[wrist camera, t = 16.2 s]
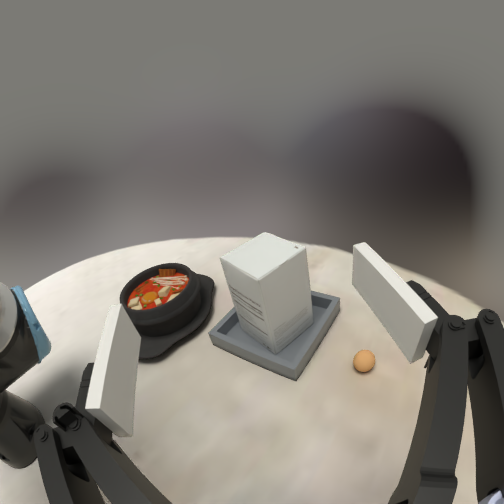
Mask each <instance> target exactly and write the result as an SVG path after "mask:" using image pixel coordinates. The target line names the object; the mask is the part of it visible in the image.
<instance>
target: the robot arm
mask: <svg viewBox="0 0 504 504" xmlns="http://www.w3.org/2000/svg"><path fill="white" fill-rule="evenodd" d="M352 285H353V286H354V287H355V289H356V290H357V291H358V292H359V294H360V295H361V296H362V298H363V299H364V300H365V302H366V303H367V304H368V306H369V307H370V308H371V310H372V311H373V312H374V314H375V315H376V316H377V318H378V319H379V320H380V322H381V323H382V325H383V326H384V327H385V329H386V330H387V331H388V333H389V334H390V336H391V337H392V338H393V340H394V341H395V343H396V344H397V345H398V347H399V348H400V350H401V351H402V353H403V354H404V355H405V357H406V358H407V360H408V361H409V363H410V364H411V363H413V362H415V361H417V360H419V359H421V358H423V355H424V353H425V350H427V352H428V353H429V354H430V355H429V357H428V359H427V362H426V364H425V366H424V368H426V367H427V371H426V377H425V384H424V390H423V395H422V401H421V406H420V410H419V415H418V420H417V424H416V428H415V432H414V436H413V440H412V443H411V447H410V450H409V454H408V457H407V460H406V464H405V467H404V470H403V473H402V476H401V478H400V481H399V484H398V486H397V488H396V490H395V491H394V493H393V494H392V496H391V498H390V500H389V503H388V504H452V502H453V499H454V496H455V492H456V489H457V483H458V482H457V478H456V476H455V468H456V464H457V459H458V455H459V450H460V444H461V438H462V432H463V425H464V418H465V409H466V398H467V384H468V389H469V395H470V402H471V409H472V417H473V426H474V437H475V453H476V492H477V500H478V504H504V328H503V325H502V323H501V321H500V318H499V316H498V315H497V314H496V313H495V312H494V311H492V310H490V309H483V310H481V311H480V312H479V314H478V316H477V318H474V319H468V320H464V319H463V318H461V317H460V316H457V315H449V314H448V313H447V312H446V311H445V310H444V309H443V308H442V306H441V305H440V304H439V303H438V302H437V301H436V300H435V299H434V298H433V297H431V295H430V294H429V293H428V292H427V291H426V290H425V289H424V288H423V287H422V286H421V285H420V284H418V283H416V282H414V281H412V280H411V281H409V282H405V281H404V280H403V279H402V278H401V277H400V276H399V275H398V274H397V273H396V272H395V271H394V270H393V269H392V268H391V267H390V266H389V265H388V264H387V263H386V262H385V261H384V260H383V259H382V258H381V257H380V256H379V255H378V254H376V252H375V251H374V250H372V249H371V248H370V247H369V246H368V245H367V244H366V243H365V242H364V243H360V244H357V245H353V274H352ZM140 342H141V337H140V335H139V333H138V332H137V330H136V328H135V326H134V325H133V323H132V321H131V320H130V318H129V316H128V314H127V313H126V311H125V309H124V307H123V305H122V304H117V305H113V306H110V307H109V311H108V314H107V317H106V321H105V324H104V328H103V331H102V335H101V339H100V343H99V346H98V350H97V354H96V359H95V363H88V365H87V367H86V368H85V370H84V371H83V375H82V382H81V384H80V389H79V393H78V398H77V403H76V408H75V407H74V406H72V405H71V404H70V403H62V404H60V405H59V406H58V407H57V408H56V409H55V411H54V413H53V423H54V424H56V425H57V426H58V427H57V428H54V429H53V428H51V427H50V426H49V425H47V424H45V423H44V419H43V417H42V415H41V413H40V412H39V410H38V409H37V408H35V407H34V406H33V405H32V404H31V403H30V402H28V401H26V400H24V399H22V398H20V397H18V396H16V395H14V394H12V393H10V392H8V391H7V390H6V388H8V387H9V386H10V385H11V384H12V383H14V382H15V381H16V380H17V379H19V378H20V377H21V376H22V375H23V374H25V373H26V372H27V371H28V370H30V369H31V368H32V367H33V366H35V365H36V364H37V363H38V364H39V363H41V361H42V359H43V358H44V357H45V356H47V355H48V354H49V353H50V351H51V343H50V341H49V339H48V337H47V336H46V334H45V332H44V330H43V329H42V327H41V325H40V323H39V321H38V320H37V318H36V316H35V314H34V312H33V310H32V308H31V306H30V304H29V302H28V300H27V298H26V296H25V294H24V292H23V290H22V288H21V287H20V286H16V287H12V288H11V289H9V288H8V287H7V286H6V285H5V284H3V283H1V282H0V459H1V460H2V461H3V462H5V463H6V464H8V465H9V466H11V467H14V468H23V467H25V466H27V465H29V464H30V463H32V462H33V461H34V460H35V458H36V457H37V458H38V462H39V467H40V471H41V475H42V479H43V483H44V486H45V490H46V493H47V496H48V500H49V503H50V504H105V502H104V500H103V498H102V496H101V494H100V491H99V489H98V487H97V485H98V486H99V487H100V489H101V490H102V491H103V493H104V494H105V496H106V497H107V498H108V499H109V501H110V502H111V503H112V504H172V503H171V502H170V501H169V500H168V499H167V498H166V497H165V496H164V495H162V494H161V493H160V492H159V491H158V490H157V489H156V488H155V486H154V485H153V484H152V483H151V482H150V481H149V480H148V479H147V478H146V477H145V476H144V475H143V474H142V473H141V472H140V470H139V469H138V468H137V467H136V466H135V465H134V464H133V462H132V461H131V460H130V459H129V458H128V457H127V455H126V454H125V453H124V452H123V450H122V449H121V448H120V447H119V445H118V444H117V443H116V442H115V441H114V440H113V439H112V432H113V433H114V434H116V435H117V436H118V437H133V417H134V401H135V389H136V378H137V368H138V359H139V350H140ZM96 483H97V484H96Z"/></svg>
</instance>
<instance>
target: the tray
mask: <svg viewBox="0 0 504 504" xmlns="http://www.w3.org/2000/svg"><path fill="white" fill-rule="evenodd" d="M311 301H312V312H313V324H312V325H311V326H309V327H308V328H307V329H306V330H305V331H304V332H302V333H301V334H300V335H299V336H298V337H297V338H295V339H294V340H293V341H292V342H291V343H289V344H288V345H287V346H286V347H285V348H283V349H282V350H281V351H280V352H279V353H277V354H274V353H273V352H271V351H270V350H268V349H267V348H266V347H264V346H263V345H262V344H260V343H259V342H258V341H256V340H255V339H254V338H252V337H251V336H250V335H248V334H247V333H246V332H244V331H243V330H242V328H241V325H240V322H239V319H238V316H237V312H236V309H235V307H234V308H233V309H232V310H231V311H230V312H229V313H228V314H227V315H226V316H225V317H224V318H223V319H222V320H221V321H220V322H219V323H218V324H217V325H216V326H215V327H214V328H213V329H212V330H211V331H210V332H209V333H208V334H209V336H210V338H211V341H212V343H213V345H215V346H217V347H219V348H221V349H223V350H225V351H227V352H229V353H231V354H234V355H236V356H238V357H240V358H242V359H244V360H247V361H249V362H251V363H253V364H256V365H258V366H260V367H262V368H265V369H267V370H269V371H272V372H274V373H277V374H279V375H281V376H284V377H286V378H289V379H291V380H294V381H297V379H298V378H299V376H300V375H301V373H302V372H303V370H304V369H305V367H306V365H307V364H308V362H309V361H310V359H311V358H312V356H313V355H314V353H315V351H316V350H317V348H318V347H319V345H320V343H321V342H322V340H323V338H324V337H325V335H326V333H327V332H328V330H329V328H330V327H331V325H332V323H333V322H334V320H335V318H336V316H337V315H338V313H339V311H340V298H339V297H335V296H331V295H327V294H322V293H318V292H314V291H311Z"/></svg>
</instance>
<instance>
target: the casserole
mask: <svg viewBox="0 0 504 504" xmlns="http://www.w3.org/2000/svg"><path fill="white" fill-rule="evenodd" d="M213 287H214V281H213V279H211V278H210V277H208V276H205V275H201V274H196V273H195V272H193V271H191V270H190V268H188V267H187V266H185V265H183V264H178V263H167V264H161V265H157V266H154V267H151V268H149V269H147V270H145V271H143V272H141V273H139V274H138V275H136V276H135V277H134V278H132V279H131V280H130V281H129V282H128V283H127V284H126V285H125V287H124V288H123V290H122V292H121V294H120V304H122V305H123V307H124V309H125V311H126V313H127V314H128V316H129V318H130V320H131V321H132V323H133V325H134V326H135V328H136V330H137V332H138V333H139V335H140V337H141V342H140V350H139V358H140V359H148V358H154V357H157V356H159V355H161V354H162V353H164V352H165V351H166V350H167V349H169V348H170V347H171V346H172V345H173V344H175V343H176V342H177V341H179V340H181V339H182V338H184V337H186V336H187V335H189V334H190V333H192V332H193V331H194V330H196V329H197V328H198V327H199V326H200V325H201V324H202V323H203V321H204V320H205V319H206V317H207V316H208V314H209V312H210V309H211V294H212V290H213Z"/></svg>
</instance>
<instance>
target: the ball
mask: <svg viewBox="0 0 504 504" xmlns="http://www.w3.org/2000/svg"><path fill="white" fill-rule="evenodd" d="M353 364H354V367H355V368H356V369H357V370H358V371H361V372H366V371H369V370H370V369H371V368H372V367H373V366H374V364H375V356H374V354H373V353H372V352H371V351H369V350H361V351H359V352H358V353H357V354H356V355H355V357H354V360H353Z"/></svg>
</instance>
